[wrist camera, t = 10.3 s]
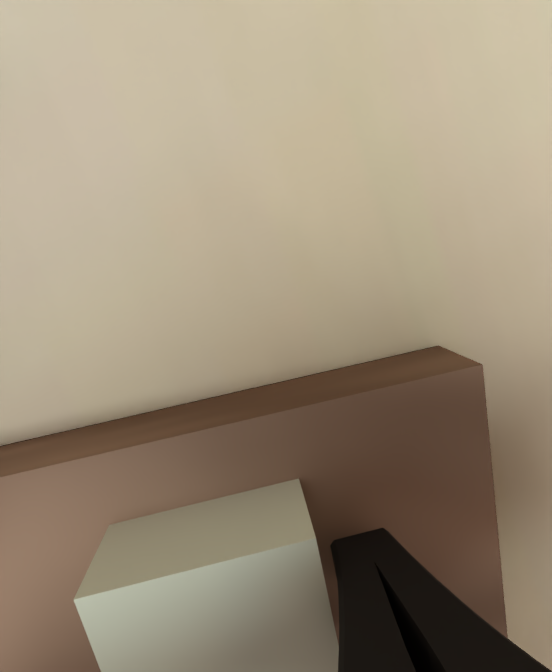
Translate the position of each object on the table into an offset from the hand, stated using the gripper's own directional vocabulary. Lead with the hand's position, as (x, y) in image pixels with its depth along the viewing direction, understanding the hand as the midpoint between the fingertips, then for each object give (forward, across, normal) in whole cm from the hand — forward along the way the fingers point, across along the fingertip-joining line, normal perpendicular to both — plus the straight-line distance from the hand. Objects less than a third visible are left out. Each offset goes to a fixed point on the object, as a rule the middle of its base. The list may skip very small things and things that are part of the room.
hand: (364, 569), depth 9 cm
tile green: (+1, +3, 0) cm, 3 cm away
